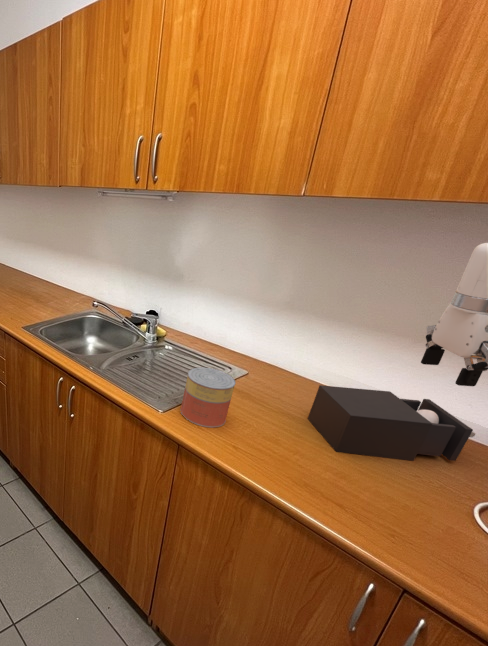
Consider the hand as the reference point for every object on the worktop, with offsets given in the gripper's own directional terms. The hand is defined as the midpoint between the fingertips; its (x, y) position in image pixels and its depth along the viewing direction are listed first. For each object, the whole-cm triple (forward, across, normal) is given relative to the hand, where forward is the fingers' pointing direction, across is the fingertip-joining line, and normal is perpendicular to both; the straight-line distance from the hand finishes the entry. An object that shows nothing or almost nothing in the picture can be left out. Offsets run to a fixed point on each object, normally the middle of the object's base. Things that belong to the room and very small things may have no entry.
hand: (446, 374), depth 89 cm
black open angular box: (+19, 0, +1) cm, 19 cm away
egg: (+17, 0, +2) cm, 17 cm away
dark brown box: (+20, 0, +12) cm, 23 cm away
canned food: (+19, +3, +47) cm, 51 cm away
